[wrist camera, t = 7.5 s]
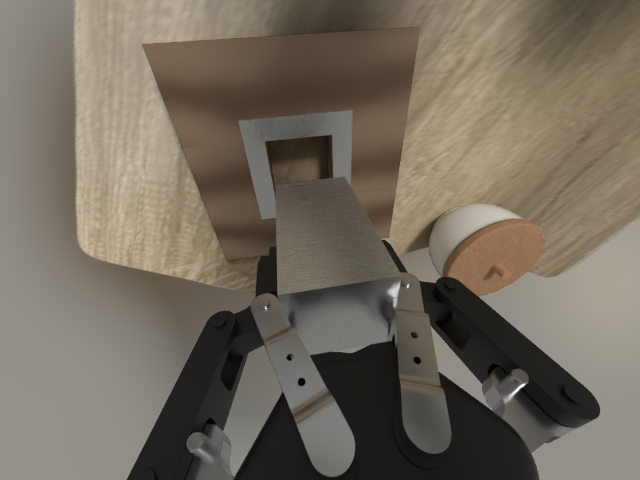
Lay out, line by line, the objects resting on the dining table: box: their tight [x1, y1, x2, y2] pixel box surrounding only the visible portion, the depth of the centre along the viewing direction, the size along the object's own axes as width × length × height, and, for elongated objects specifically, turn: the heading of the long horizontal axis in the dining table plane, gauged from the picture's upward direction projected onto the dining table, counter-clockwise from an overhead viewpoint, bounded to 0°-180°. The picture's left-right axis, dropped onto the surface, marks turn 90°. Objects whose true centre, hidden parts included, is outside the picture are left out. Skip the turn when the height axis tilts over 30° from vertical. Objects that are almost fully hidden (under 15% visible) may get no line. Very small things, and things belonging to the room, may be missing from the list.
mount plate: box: [142, 27, 420, 260], centre depth 27 cm, size 22×22×3 cm
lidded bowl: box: [429, 203, 545, 296], centre depth 34 cm, size 13×13×11 cm
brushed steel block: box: [275, 177, 402, 355], centre depth 15 cm, size 5×5×10 cm
